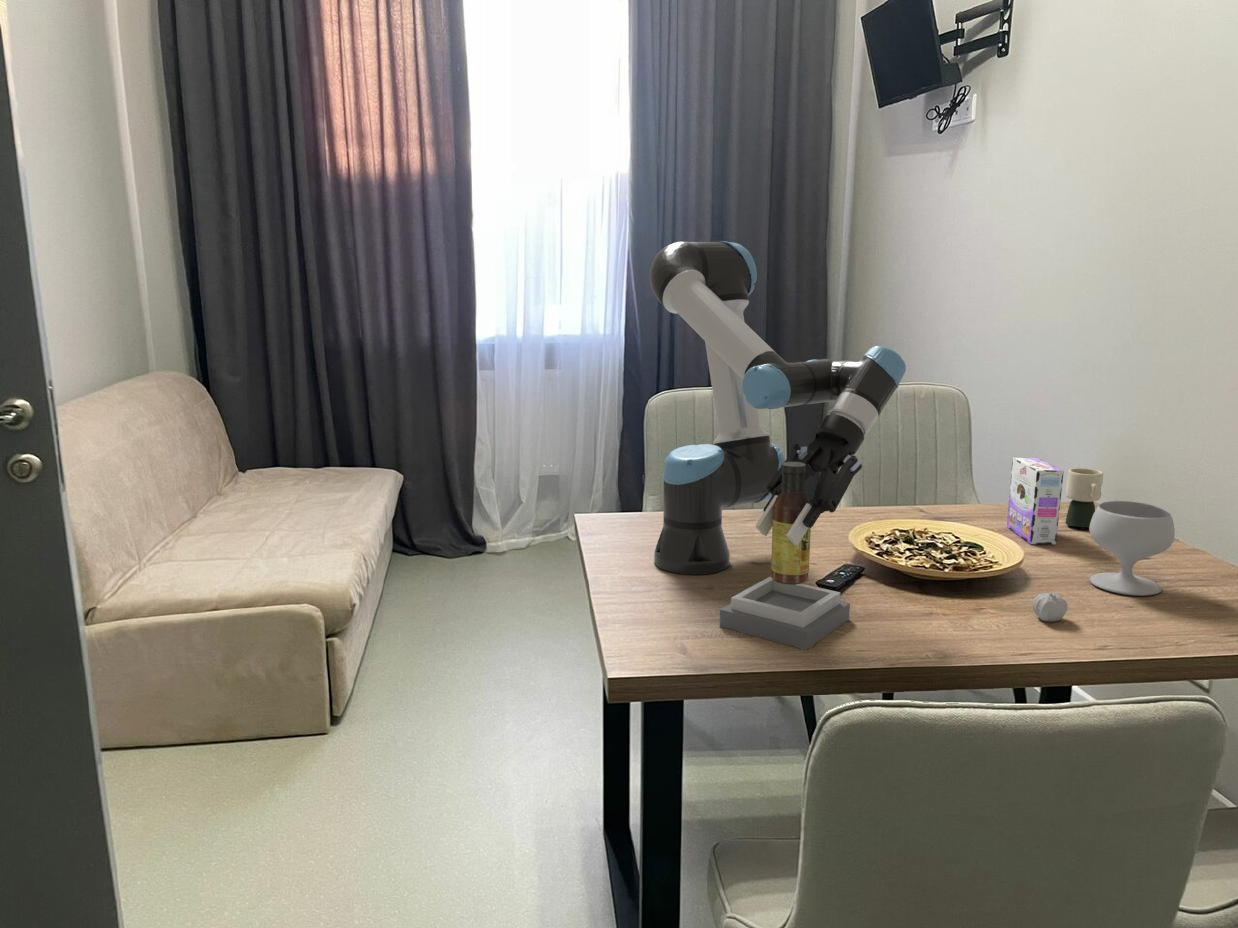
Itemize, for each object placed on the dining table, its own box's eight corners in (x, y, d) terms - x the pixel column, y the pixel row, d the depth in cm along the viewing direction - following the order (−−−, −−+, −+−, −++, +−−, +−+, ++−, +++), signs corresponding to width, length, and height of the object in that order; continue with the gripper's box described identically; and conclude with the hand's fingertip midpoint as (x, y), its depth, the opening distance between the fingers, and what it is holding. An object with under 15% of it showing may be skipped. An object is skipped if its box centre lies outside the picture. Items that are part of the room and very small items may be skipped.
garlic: (1064, 628, 161) (1067, 598, 160) (1029, 622, 164) (1032, 593, 163) (1067, 616, 166) (1070, 587, 165) (1033, 610, 169) (1036, 582, 168)
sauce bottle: (808, 587, 158) (813, 469, 153) (769, 585, 159) (773, 467, 154) (808, 574, 164) (813, 460, 159) (771, 572, 165) (775, 458, 161)
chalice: (1085, 569, 190) (1093, 496, 187) (1166, 580, 184) (1176, 504, 181) (1081, 591, 178) (1090, 513, 175) (1168, 604, 172) (1179, 523, 169)
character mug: (1106, 534, 214) (1113, 477, 211) (1074, 533, 214) (1080, 476, 211) (1085, 520, 224) (1091, 465, 222) (1054, 520, 225) (1059, 465, 222)
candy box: (1057, 545, 206) (1065, 470, 202) (1029, 545, 206) (1036, 470, 202) (1031, 527, 219) (1038, 456, 216) (1005, 527, 219) (1011, 456, 216)
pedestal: (719, 626, 162) (720, 598, 161) (766, 599, 174) (767, 572, 173) (806, 649, 153) (807, 620, 151) (849, 619, 165) (850, 591, 164)
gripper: (901, 448, 158) (831, 562, 152) (812, 431, 173) (745, 535, 167) (883, 419, 154) (810, 536, 148) (793, 405, 169) (723, 510, 163)
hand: (776, 535), depth 157 cm, fingers closed on sauce bottle, 6 cm apart
